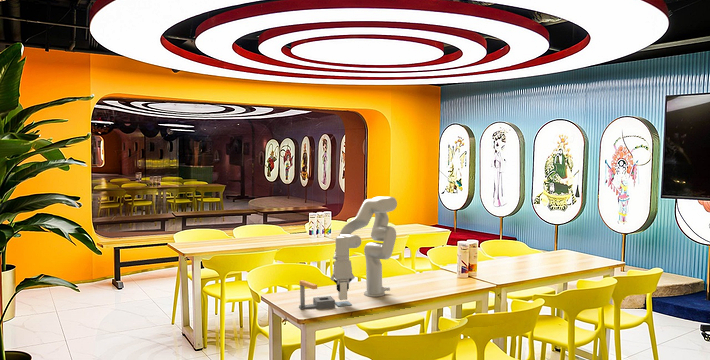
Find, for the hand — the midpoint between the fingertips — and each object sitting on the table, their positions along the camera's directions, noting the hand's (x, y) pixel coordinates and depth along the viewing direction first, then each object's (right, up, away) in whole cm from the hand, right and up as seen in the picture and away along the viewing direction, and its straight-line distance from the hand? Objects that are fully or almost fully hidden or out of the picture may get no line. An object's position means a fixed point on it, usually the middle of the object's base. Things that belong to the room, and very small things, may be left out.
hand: (342, 290), depth 282 cm
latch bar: (-18, +5, -12) cm, 22 cm away
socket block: (-14, -8, -4) cm, 17 cm away
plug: (0, -5, 0) cm, 5 cm away
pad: (0, -8, 0) cm, 8 cm away
